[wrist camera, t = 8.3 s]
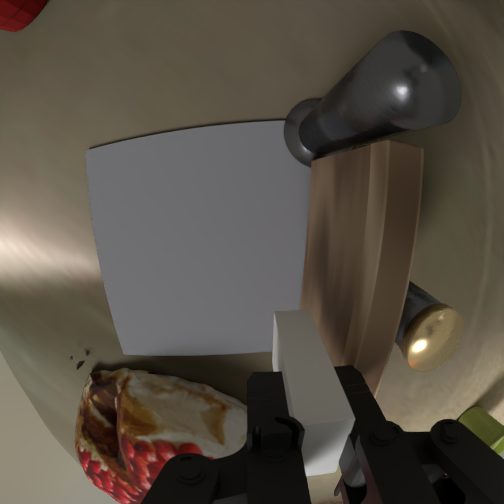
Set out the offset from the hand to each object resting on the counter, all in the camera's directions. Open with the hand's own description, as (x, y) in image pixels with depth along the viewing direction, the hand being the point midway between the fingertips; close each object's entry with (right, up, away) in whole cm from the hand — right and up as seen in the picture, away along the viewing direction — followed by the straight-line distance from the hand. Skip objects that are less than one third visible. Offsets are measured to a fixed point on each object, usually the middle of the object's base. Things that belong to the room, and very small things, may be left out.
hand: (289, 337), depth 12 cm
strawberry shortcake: (-11, -17, +13) cm, 24 cm away
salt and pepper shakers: (+4, +8, +7) cm, 11 cm away
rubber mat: (-5, +4, +8) cm, 10 cm away
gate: (+2, +3, +7) cm, 8 cm away
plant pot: (+30, -21, +15) cm, 39 cm away
